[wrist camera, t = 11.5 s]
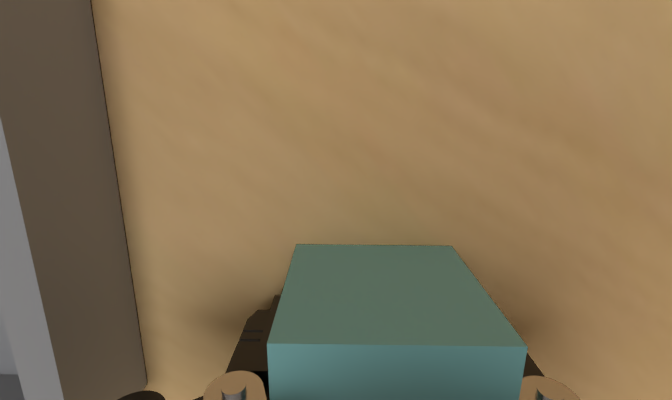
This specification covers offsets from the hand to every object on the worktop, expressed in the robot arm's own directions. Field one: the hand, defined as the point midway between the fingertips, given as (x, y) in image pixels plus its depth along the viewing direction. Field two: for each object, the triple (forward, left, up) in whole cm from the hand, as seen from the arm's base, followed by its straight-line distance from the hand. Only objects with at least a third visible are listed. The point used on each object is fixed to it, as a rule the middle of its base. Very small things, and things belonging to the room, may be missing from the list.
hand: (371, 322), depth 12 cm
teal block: (0, 0, 0) cm, 0 cm away
